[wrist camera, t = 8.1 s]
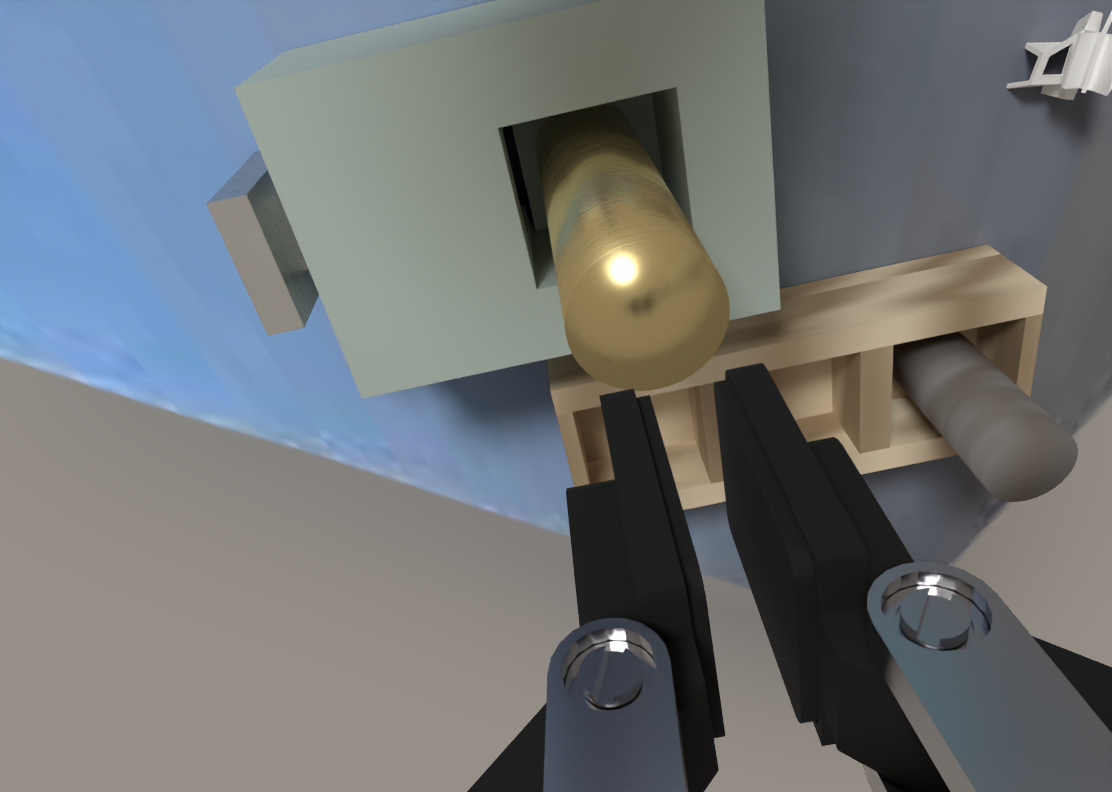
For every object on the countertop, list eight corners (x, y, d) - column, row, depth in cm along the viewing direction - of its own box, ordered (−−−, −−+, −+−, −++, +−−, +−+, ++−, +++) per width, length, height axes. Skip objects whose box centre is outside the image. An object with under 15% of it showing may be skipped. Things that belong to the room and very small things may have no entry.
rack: (987, 244, 31) (1146, 356, 23) (971, 389, 35) (1105, 526, 27) (544, 339, 32) (559, 476, 24) (576, 469, 36) (598, 623, 28)
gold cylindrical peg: (626, 86, 26) (722, 224, 15) (640, 185, 28) (736, 372, 17) (526, 109, 26) (549, 263, 15) (547, 206, 28) (581, 405, 17)
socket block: (707, -51, 25) (762, -38, 20) (733, 240, 30) (780, 309, 25) (285, 50, 26) (233, 88, 20) (383, 316, 31) (361, 398, 26)
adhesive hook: (1064, 92, 28) (1123, 112, 26) (995, 94, 28) (1048, 114, 26) (1094, -1, 27) (1160, 10, 24) (1021, 1, 27) (1080, 11, 24)
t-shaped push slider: (485, 98, 26) (484, 139, 22) (515, 220, 29) (519, 280, 24) (255, 152, 27) (206, 203, 22) (303, 267, 29) (267, 335, 25)
